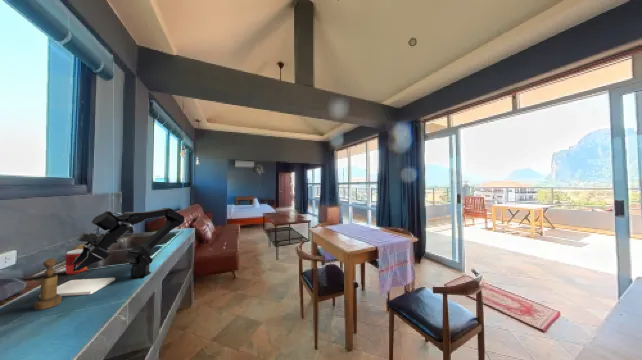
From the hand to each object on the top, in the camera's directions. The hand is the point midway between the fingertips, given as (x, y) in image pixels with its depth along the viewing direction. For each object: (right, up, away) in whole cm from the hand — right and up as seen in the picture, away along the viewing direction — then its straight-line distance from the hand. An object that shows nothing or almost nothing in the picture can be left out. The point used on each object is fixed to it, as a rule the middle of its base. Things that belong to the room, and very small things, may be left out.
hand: (75, 266), depth 86 cm
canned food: (-28, -13, +24) cm, 39 cm away
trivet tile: (-6, -13, +7) cm, 16 cm away
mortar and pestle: (-4, -13, -5) cm, 15 cm away
